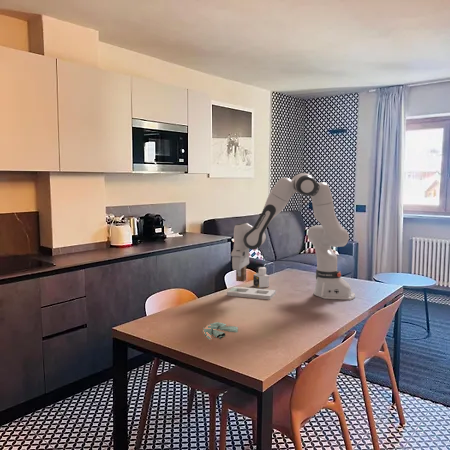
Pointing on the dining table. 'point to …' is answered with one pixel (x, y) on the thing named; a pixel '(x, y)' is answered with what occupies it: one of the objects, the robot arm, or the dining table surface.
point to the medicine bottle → (261, 278)
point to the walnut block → (241, 275)
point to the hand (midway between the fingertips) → (241, 275)
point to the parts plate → (251, 293)
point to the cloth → (221, 327)
